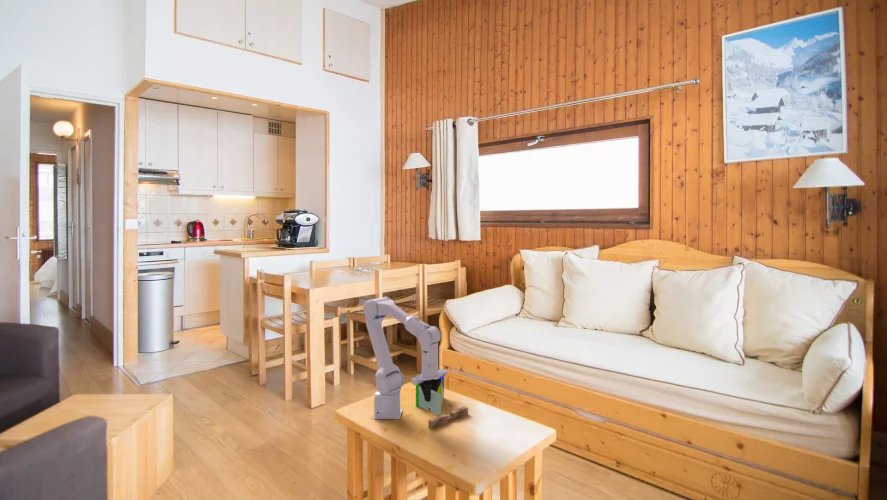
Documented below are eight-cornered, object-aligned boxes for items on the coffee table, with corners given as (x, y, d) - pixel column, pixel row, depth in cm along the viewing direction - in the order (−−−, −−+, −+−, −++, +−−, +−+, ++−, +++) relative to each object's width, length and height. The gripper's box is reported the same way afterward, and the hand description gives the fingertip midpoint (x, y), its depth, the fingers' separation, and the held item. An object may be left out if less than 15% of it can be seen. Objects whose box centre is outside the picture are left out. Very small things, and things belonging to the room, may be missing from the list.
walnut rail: (431, 429, 162) (431, 421, 162) (428, 427, 163) (428, 420, 163) (467, 414, 174) (467, 407, 174) (464, 412, 176) (464, 406, 175)
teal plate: (441, 413, 160) (440, 393, 159) (437, 414, 158) (436, 394, 158) (422, 405, 167) (422, 385, 167) (418, 406, 166) (418, 387, 166)
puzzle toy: (443, 397, 191) (443, 374, 190) (441, 407, 181) (441, 382, 180) (419, 397, 192) (419, 373, 191) (415, 406, 182) (415, 381, 181)
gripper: (420, 369, 154) (421, 409, 155) (452, 360, 163) (452, 398, 164) (407, 364, 159) (408, 402, 160) (439, 356, 169) (439, 392, 170)
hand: (429, 400), depth 163 cm, fingers closed on teal plate, 2 cm apart
